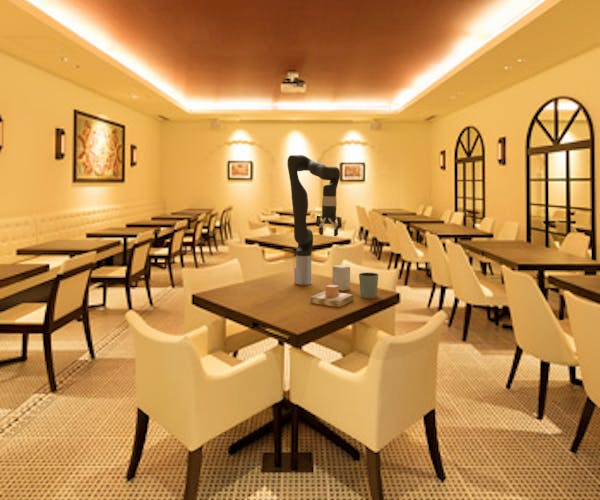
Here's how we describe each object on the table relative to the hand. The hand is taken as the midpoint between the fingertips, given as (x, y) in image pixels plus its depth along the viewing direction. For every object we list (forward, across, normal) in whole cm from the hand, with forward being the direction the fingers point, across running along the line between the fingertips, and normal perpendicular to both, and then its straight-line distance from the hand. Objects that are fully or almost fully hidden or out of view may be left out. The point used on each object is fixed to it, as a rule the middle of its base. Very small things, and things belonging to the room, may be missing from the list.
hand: (328, 235), depth 248 cm
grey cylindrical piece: (+32, +21, +6) cm, 39 cm away
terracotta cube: (+29, +10, -14) cm, 33 cm away
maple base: (+32, +11, -14) cm, 36 cm away
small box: (+32, +1, +14) cm, 35 cm away
